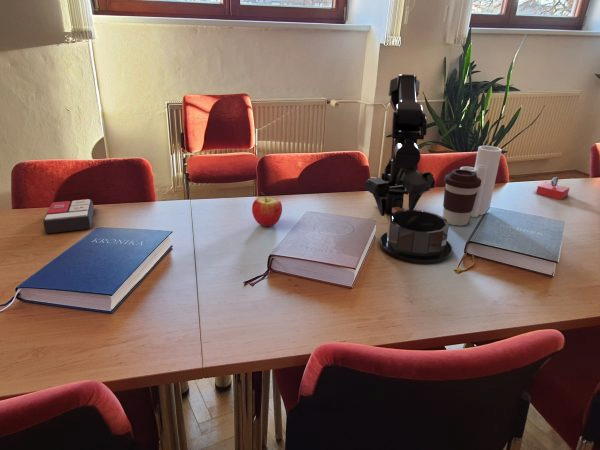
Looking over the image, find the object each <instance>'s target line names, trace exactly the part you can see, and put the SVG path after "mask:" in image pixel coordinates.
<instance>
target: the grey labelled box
mask: <svg viewBox="0 0 600 450" xmlns="http://www.w3.org/2000/svg"><path fill="white" fill-rule="evenodd" d="M93 215H94V203H93V200H91V199H90V198H87V199H86V198H85V199H76V200H72V201H70V200H66V201H65V200H64V201H55V202H52V203H51V204H50V206H49V207H48V210H47V211H46V214H45V215H44V218H43V220H42V223H43V229H44V233H45V234H55V233H65V232H71V231H72V232H73V231H82V230H90V229H92V223H93V221H92V220H93Z"/></svg>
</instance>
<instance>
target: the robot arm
mask: <svg viewBox="0 0 600 450" xmlns="http://www.w3.org/2000/svg"><path fill="white" fill-rule="evenodd" d="M417 76H418V75H415V74H408V73H407V74H406V73H405V74H404V73H403V74H402V73H401V74H398V75H397V77H394V78H392V79H390V80H389V84H388V85H389V86H388V97H389V98H390V99H389V104H390V106H391V107H392V110H393V112H392V117H391V150H390V158H389V159H388V163H386V165H385V167H384V170H383V172H381V177H374V178H368V179H367V180H365V182H364V188H363V189H364V190H365V191H367V192H368V193H370V194H372V196H373V198H374V200H375V203H376V205H377V206H376V207H377V209H378V212H379V215H380V216H381V217H385V214H387V215H391V214H393V213H392V208H394V207H400V208H401V209H403V210H406V209H405V208H404V201H405V200H404V196H405V195H408V210H415V208H416V206H417V204H418V202H419V201H420V200H421V199H420V198H421V197H422V196H423V194H425V193H427V192H430V191H431V189H435V185H436V179H435V177H434V174H433V173H432V172H431V171H426V172H419V169H418V168H419V163H420V161H421V152H420V149H419V147H418V140H420V141H424V140H425V136H426V135H427V130H428V129H427V128H428V127H427V125H428V124H427V122H428V120H427V119H428V118H427V117H426V113H424V111H423V110H424V109H423V105H422V104H421V103H419V102H417V98H418V96H419V94H420V84H421V81H420V80H419V79H418V78H417Z"/></svg>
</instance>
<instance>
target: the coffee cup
mask: <svg viewBox="0 0 600 450" xmlns="http://www.w3.org/2000/svg"><path fill="white" fill-rule="evenodd" d="M443 182H444V183H445V187H444V192H443V203H442V207H443V212H442V217H443V218H444V219H446V220H447V222H448V224H449V225H452V226H465V225H468V224H469V221H470V218H471V216H470V214H471V211H472V210H473V206H474V203H475V199H476V195H477V189H478V187H480V185H481V179H480V178H478V177H477V174H476V173H475V172H472V171H469V170H461V169H460V168H459V169H458V168H457V169H453V170H451V172H449V173H447V174H445V175H444V180H443Z"/></svg>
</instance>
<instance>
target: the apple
mask: <svg viewBox="0 0 600 450" xmlns="http://www.w3.org/2000/svg"><path fill="white" fill-rule="evenodd" d="M260 194H262V196H263V197H262V196H261V197H257V198H256V199H254V201H253V202H252V205H251V213H252V216H253V218H254V220H255V222H256V223H257V224H258V225H261V226H263V227H271V226H274V225H276V224H277V223H278V222H279V220H280V219H281V216H282V213H283V205H282V202H281V200H279V199H276V198H272V197H266V194H264V192H262V191H260Z"/></svg>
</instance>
